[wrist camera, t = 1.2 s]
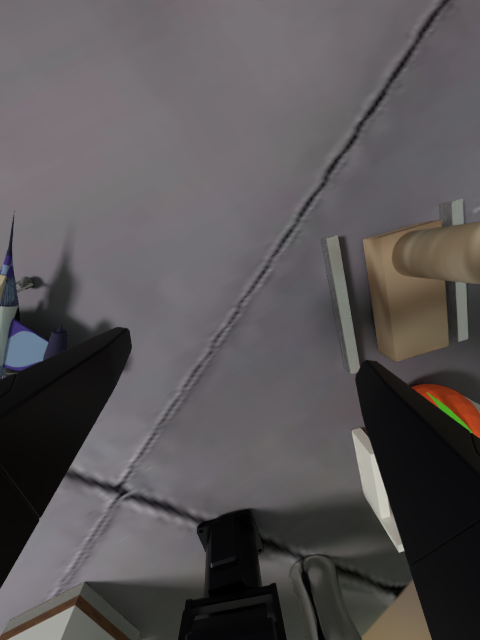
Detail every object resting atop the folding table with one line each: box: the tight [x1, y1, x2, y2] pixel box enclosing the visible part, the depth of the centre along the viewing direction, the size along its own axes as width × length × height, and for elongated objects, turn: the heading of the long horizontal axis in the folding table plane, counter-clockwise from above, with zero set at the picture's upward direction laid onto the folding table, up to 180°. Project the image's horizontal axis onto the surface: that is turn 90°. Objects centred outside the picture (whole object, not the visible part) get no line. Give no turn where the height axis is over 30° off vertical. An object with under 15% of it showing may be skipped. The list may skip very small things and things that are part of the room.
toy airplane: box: [0, 210, 67, 380], centre depth 20 cm, size 13×14×4 cm
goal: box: [352, 396, 480, 553], centre depth 26 cm, size 10×13×6 cm
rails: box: [321, 199, 468, 374], centre depth 23 cm, size 13×12×1 cm
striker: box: [363, 220, 480, 362], centre depth 16 cm, size 11×5×15 cm, turn 16°
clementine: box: [411, 384, 480, 438], centre depth 24 cm, size 8×7×7 cm
